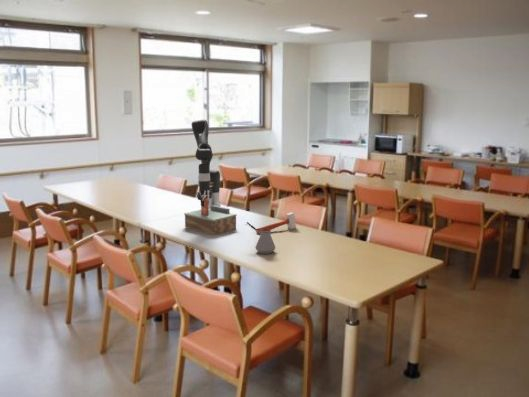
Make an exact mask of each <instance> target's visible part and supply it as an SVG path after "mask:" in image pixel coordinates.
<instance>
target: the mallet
mask: <svg viewBox="0 0 529 397" xmlns="http://www.w3.org/2000/svg"><path fill="white" fill-rule="evenodd" d="M284 225H287V228H288V229H289V230H293V229H296V228H297V223H296V218H295V213H294V212H292V211H291V212H288V213H286V219H285V220H282V221H280V222H276V223H271V224H269V225H265V226H262V227H258V228H256V229H257V230H258V231H259V232H260V233H261V231H260V230H261V229H270V230H271V231H272V230H274V229H277V228H279V227H281V226H284ZM255 233H256V234H258V235H260V234H259V233H258V232H257V231H256V230H255Z"/></svg>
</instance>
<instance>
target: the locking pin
mask: <svg viewBox="0 0 529 397" xmlns="http://www.w3.org/2000/svg"><path fill="white" fill-rule="evenodd" d="M200 206H201V205H200ZM200 210H201V215H202V216H207V215H209V206H208V198H206V197H204V206H201V207H200Z"/></svg>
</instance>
